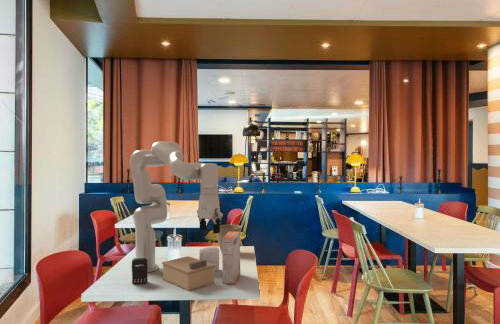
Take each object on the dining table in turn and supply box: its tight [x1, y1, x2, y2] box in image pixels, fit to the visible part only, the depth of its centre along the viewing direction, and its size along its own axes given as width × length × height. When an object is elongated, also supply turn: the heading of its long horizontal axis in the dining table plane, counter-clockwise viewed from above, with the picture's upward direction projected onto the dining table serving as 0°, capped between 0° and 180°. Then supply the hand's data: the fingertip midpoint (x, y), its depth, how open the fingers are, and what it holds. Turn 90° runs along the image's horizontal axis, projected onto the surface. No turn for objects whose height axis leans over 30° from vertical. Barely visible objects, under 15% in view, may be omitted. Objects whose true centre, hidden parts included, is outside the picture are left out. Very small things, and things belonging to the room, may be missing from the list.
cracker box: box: [221, 231, 241, 285], centre depth 169 cm, size 14×6×21 cm, turn 171°
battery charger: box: [131, 256, 149, 285], centre depth 164 cm, size 7×4×11 cm, turn 103°
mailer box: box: [162, 264, 215, 292], centre depth 166 cm, size 20×14×7 cm
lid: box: [161, 255, 215, 274], centre depth 166 cm, size 21×15×3 cm
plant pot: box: [215, 224, 242, 253], centre depth 214 cm, size 15×15×16 cm
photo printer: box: [198, 245, 220, 272], centre depth 181 cm, size 10×4×12 cm, turn 124°
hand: (209, 231), depth 158 cm, fingers open, 9 cm apart
